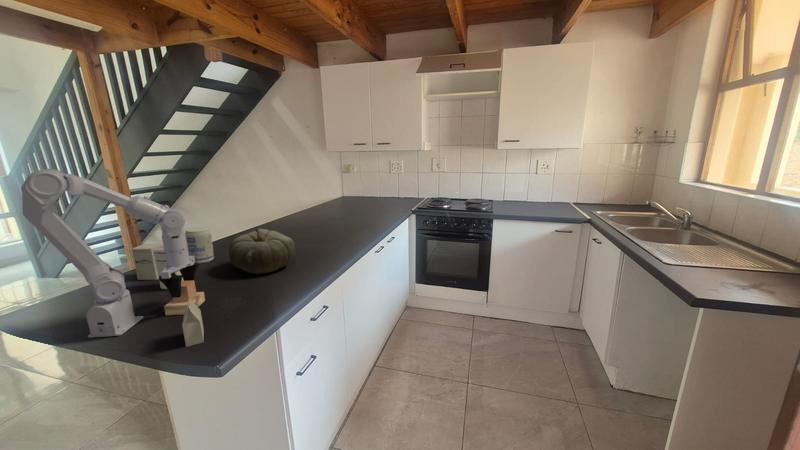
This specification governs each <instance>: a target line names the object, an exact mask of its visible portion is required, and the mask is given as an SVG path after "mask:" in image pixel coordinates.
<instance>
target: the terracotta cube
mask: <svg viewBox="0 0 800 450" xmlns="http://www.w3.org/2000/svg"><path fill="white" fill-rule="evenodd" d="M196 292H197V288H196V284H195V281H194V280H191V281H181V297H177V298H172V300H173V302H188V300H189V299H190V298H191V300H192V299H193V298H194V297H195V296H196V295H197V294H196Z"/></svg>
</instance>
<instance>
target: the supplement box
mask: <svg viewBox="0 0 800 450" xmlns="http://www.w3.org/2000/svg"><path fill="white" fill-rule="evenodd" d="M160 248H164V246H163V243H142V244H140V245H139V246H135V247H132V248H131V253H132V257H133V263H134V266H135V268H134V269H135V272H136V278H137V280H138V281H140V280H142V281H144V280H146V281H147V280H148V281H149V280H150V281H151V280H155V281H157V280H159V277H158V272H157V268H156V263H155V258H154V253H153V251H154V250H157V249H160Z"/></svg>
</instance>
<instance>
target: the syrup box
mask: <svg viewBox="0 0 800 450" xmlns="http://www.w3.org/2000/svg"><path fill="white" fill-rule="evenodd" d="M153 253H154V258H155V263H156V268H157V272H158V277H160V276H161V272H162V271H163V270H164V268H165V267H166V265H167V263H166V257H165V252H164V248H160V249H157V250H154V251H153ZM175 274H177V275H182V274H181V272H180V271H177V272H176V273H175ZM182 281H184V280H183V277H182ZM159 285H160V289H162V290H168V289H167V287H166V286H165V285H164V284H163V283H162V282H161V281H159Z"/></svg>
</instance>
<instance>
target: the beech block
mask: <svg viewBox="0 0 800 450" xmlns="http://www.w3.org/2000/svg"><path fill="white" fill-rule="evenodd" d="M196 294H197V295H196V296H195V297H194V298H193V299H192V301H193V303H194V304H195V305H196V306H197V307H198V308H199V307H200V306H201V305H202V304H203V303H204V302H205V301H206V298H205V297H206V296H205V291H196ZM187 305H188V302H173V299H171V300H170V301H168V302H167V304H165V305H164V306H163V309H164V314H165V316H180V315H183V316H184V312H185V310H186V307H187Z"/></svg>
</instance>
